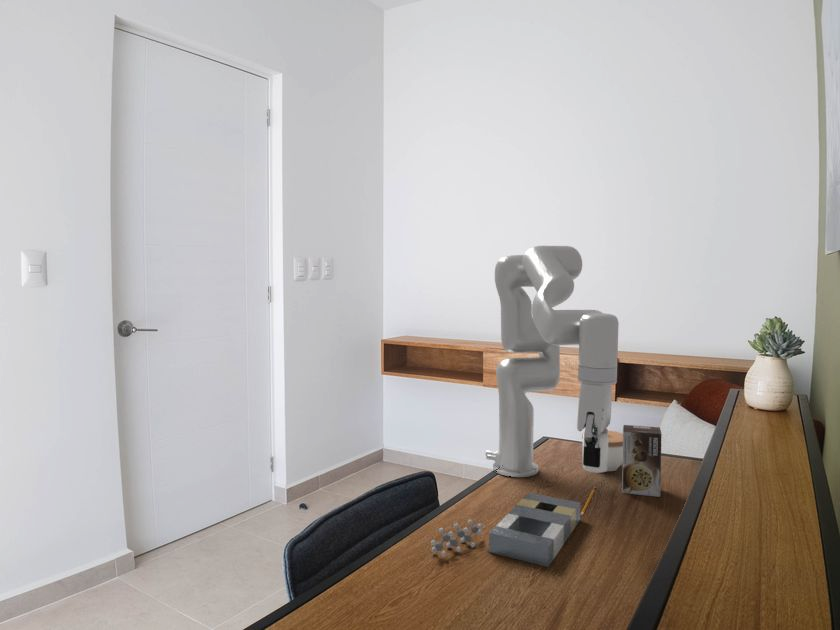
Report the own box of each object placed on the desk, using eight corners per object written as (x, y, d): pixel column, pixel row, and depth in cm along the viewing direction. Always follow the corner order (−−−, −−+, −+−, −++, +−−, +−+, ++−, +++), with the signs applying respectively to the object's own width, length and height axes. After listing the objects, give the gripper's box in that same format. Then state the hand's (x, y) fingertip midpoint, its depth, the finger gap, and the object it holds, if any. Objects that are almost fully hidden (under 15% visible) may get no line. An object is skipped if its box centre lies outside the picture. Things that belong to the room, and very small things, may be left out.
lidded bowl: (584, 473, 161) (585, 434, 160) (578, 459, 174) (579, 422, 173) (632, 475, 159) (633, 436, 159) (622, 460, 172) (623, 424, 171)
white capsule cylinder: (579, 469, 119) (580, 436, 118) (585, 462, 123) (586, 430, 123) (604, 474, 117) (605, 439, 116) (609, 466, 121) (610, 433, 120)
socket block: (489, 552, 116) (489, 532, 116) (528, 509, 137) (528, 492, 137) (548, 567, 110) (548, 546, 110) (580, 519, 131) (580, 502, 131)
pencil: (594, 489, 151) (593, 486, 151) (596, 488, 150) (595, 485, 151) (580, 517, 134) (579, 514, 134) (583, 516, 133) (581, 513, 133)
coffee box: (659, 488, 150) (661, 427, 149) (660, 497, 144) (662, 433, 143) (621, 484, 153) (623, 423, 152) (621, 493, 147) (623, 430, 146)
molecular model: (438, 564, 112) (438, 538, 112) (424, 555, 115) (424, 531, 115) (488, 542, 121) (488, 519, 120) (473, 535, 124) (473, 513, 123)
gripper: (588, 366, 128) (586, 447, 129) (567, 379, 113) (565, 471, 114) (624, 369, 124) (621, 453, 125) (607, 383, 109) (604, 478, 111)
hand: (594, 461), depth 120 cm, fingers closed on white capsule cylinder, 5 cm apart
